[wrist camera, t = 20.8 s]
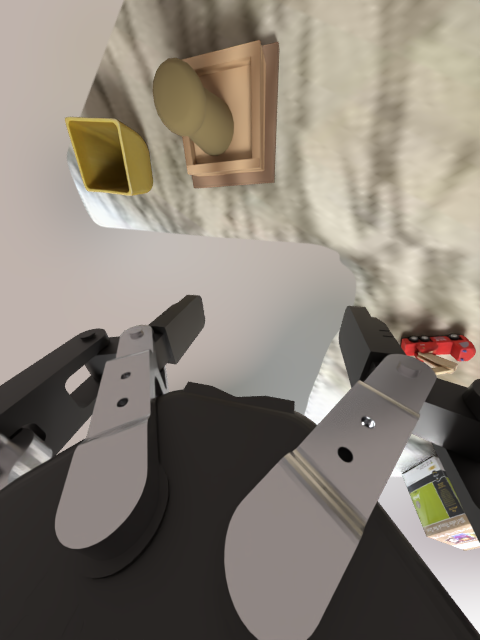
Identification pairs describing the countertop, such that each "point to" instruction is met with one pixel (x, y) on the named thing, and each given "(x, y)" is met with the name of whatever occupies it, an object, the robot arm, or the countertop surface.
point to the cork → (192, 107)
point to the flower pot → (110, 156)
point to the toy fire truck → (439, 350)
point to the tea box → (439, 505)
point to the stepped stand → (239, 115)
